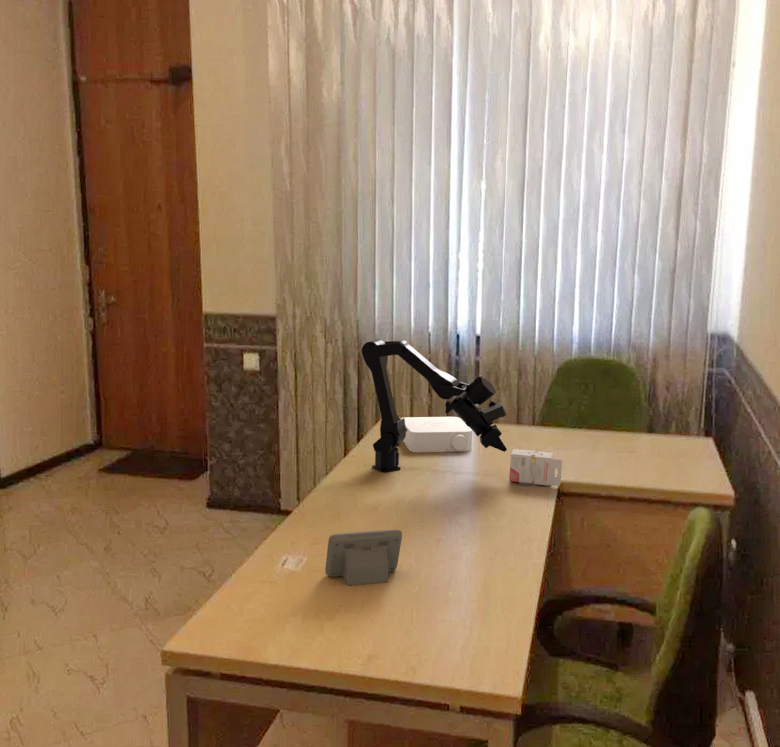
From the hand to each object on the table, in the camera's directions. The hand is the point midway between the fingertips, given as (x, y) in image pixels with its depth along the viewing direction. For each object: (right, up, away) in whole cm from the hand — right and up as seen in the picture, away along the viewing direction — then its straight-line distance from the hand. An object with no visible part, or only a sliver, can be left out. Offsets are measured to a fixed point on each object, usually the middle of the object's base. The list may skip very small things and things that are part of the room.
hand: (505, 450), depth 258 cm
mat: (+7, -9, +2) cm, 12 cm away
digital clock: (-40, -21, -69) cm, 83 cm away
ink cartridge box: (+1, -4, -1) cm, 4 cm away
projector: (-18, -2, +39) cm, 44 cm away
